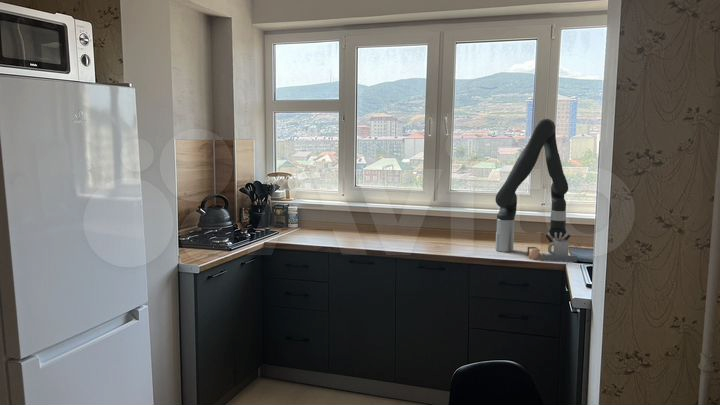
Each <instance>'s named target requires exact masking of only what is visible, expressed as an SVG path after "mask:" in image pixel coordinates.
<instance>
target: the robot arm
mask: <svg viewBox="0 0 720 405" xmlns="http://www.w3.org/2000/svg"><path fill="white" fill-rule="evenodd" d="M543 147H544V154H545V163H546V167H547V171H548V175H549V177H550V178H551V180H552V184H551V186H550V196H551V208H550V209H551V210H550V221H549V222H550V223H549V230H548V232H546V233H544V236H545V237H546V239H547V240H548V241H549V242H550V243H551V242H554V240H555V239H559V241H561V239H565V240H568V241H569V239H570V237H571V235H570V234H569V233H568V232H567V230H566V226H567V224H566V222H567V211H566V210H567V201H566V199H565V195H566V194H567V192H568V191H569V184H568V181H567V178H566V175H565V172H564V170H563V165H562V161H561V158H560V154H559V150H558V144H557V136H556V124H555V122H554V121H553V120H552V119H550V118H544V119H541V120H539V121H538V122H537V123H536V124H535V126H534V129H533V131H532V134H531V136H530V139H529V141H528V142H527V144H526V145H525V147H524V148H523V150H522V151H521V153H519V156H518V157H517V159H516V160H515V162H514V165H513V166H512V169H511V171H510V172H509V175H508V176H507V178H506V179H505V182H504V183H503V185H502V186H501V187H500V188H499V190H498V192H497V193H496V194H495V203H496V205H497V206H498V207H499V210H498V212H497V214H496V230H495V251H496V252H504V253H509V252H511V253H512V252H514V242H515V238H514V237H515V218H516V213H517V207H518V206H517V204H518V197H517V193H516V191H517V189H518V188H519V187H520V186H521V185H522V183H523V182H524V181H525V180H526V179H527V178H528V177H529V175H530V174H532V171H533V169H534V168H535V166H536V163H537V162H538V159H539V156H540V154H541V151H542V149H543ZM550 236H551V237H552V238H553V240H552V238H551V237H550Z"/></svg>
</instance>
